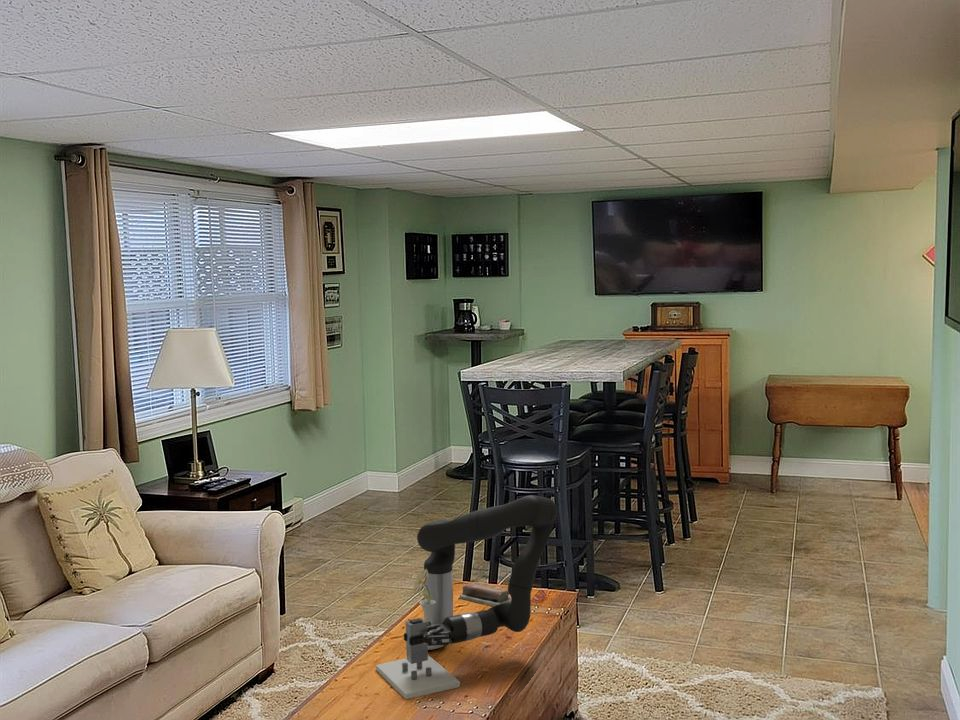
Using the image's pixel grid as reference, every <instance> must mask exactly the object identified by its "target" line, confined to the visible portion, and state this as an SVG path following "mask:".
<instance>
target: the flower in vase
mask: <svg viewBox="0 0 960 720" xmlns="http://www.w3.org/2000/svg"><path fill="white" fill-rule="evenodd" d="M427 580H428V570H427V569H425V571H424V568H422V569H421V570H420V572H417V576H416V579H415V580H414V581H413V584H414V586H413V589H412V591H413V593H414V594H420V592H422V596H423V597H424V598H425V597H426V598H427V599H426V600H425V599H422V600H420V601H419V605H420V606H421V608H422V610H423V620H425V621H426V622H431V625H432V609H433V606H434V604H435V603H436V601H434V600H430V597H431V595H430V593H429V590H428V587H427V585H426V582H427ZM424 586H426V588H427V590H428V591H427V590H426V589H425V588H424ZM427 633H428V632H427ZM444 646H445V645H436V646H428V644H427V648H428V651H432V650H436V649H440V648H443V647H444Z"/></svg>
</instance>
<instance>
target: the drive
mask: <svg viewBox="0 0 960 720" xmlns="http://www.w3.org/2000/svg"><path fill="white" fill-rule="evenodd" d="M405 633H406V641H405V644H406V646H405V648H406V658H407V661H409V662H410V663H411V664H414V663H418V662H422V661H427V660H428V655H429V653H428V651H429V650H428V648H427V644H423V643H422V644H417V645H413V646H411V645H410V644H409V638H410V637H414V636H419V635H422V636H423V634H426V633H427V622H426V621H425V620H424V618H420V617H419V618H418V617H417V618H414V619H413V618H412V619H409V620H407V621H405Z"/></svg>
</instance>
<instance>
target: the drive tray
mask: <svg viewBox="0 0 960 720" xmlns="http://www.w3.org/2000/svg"><path fill="white" fill-rule="evenodd" d="M375 670H377V671H378V672H379V673H378V672H377V671H376V672H377V673H378V674H379V675H380V676H381V677H383V678H384V679H385V681H386V682H388V683H389V685H391V686H392V687H393V688H394V690H396V692H398V693H399V694H400V695H401V696H402V698H404V699H405V700H410V699H414V698H417V697H418V698H419V697H423V696H426V695H430V694H431V695H432V694H435V693H438V692H443V691H447V690H448V691H449V690H453V689H456V688H460V687H461V682H460V680H459V679H458V678H456V677H455V676H454V675H453V674H451V673H450V672H449V671H448V670H446V668H445V667H443V666H442V665H441V664H439V663H438V662H437V661H436V660H435V659H433V658H432V657H431V656H430V655H429V654H428V660H427V661H422V662H418V663H414V664H411V663H410V662H409V661H407V657H406V658H402V659H397V660H392V661H388V662H384V663H379V664H375ZM422 695H423V696H422ZM413 697H414V698H413ZM409 698H410V699H409Z"/></svg>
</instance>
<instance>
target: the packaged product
mask: <svg viewBox="0 0 960 720" xmlns="http://www.w3.org/2000/svg"><path fill="white" fill-rule="evenodd" d="M459 599H461V600H463V601H464V600H465V601H468V600H469V602H472V601H473V602H472V603H476V602H478V603H477V604H479V603H481V604H480V605H483V604H486V605H485V606H488V605H489V606H488V607H492V606H493V607H494V606H496V605H498V604H501V603H508V602H509V603H511V596H510V594H509V593H508V589H507V590H506V589H503V588H499V587H495V586H491V585H487V584H483V583H479V582H476V581H475V582H473V581H472V582H470V583H466V584H465V585H463V586H462V594H459Z"/></svg>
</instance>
